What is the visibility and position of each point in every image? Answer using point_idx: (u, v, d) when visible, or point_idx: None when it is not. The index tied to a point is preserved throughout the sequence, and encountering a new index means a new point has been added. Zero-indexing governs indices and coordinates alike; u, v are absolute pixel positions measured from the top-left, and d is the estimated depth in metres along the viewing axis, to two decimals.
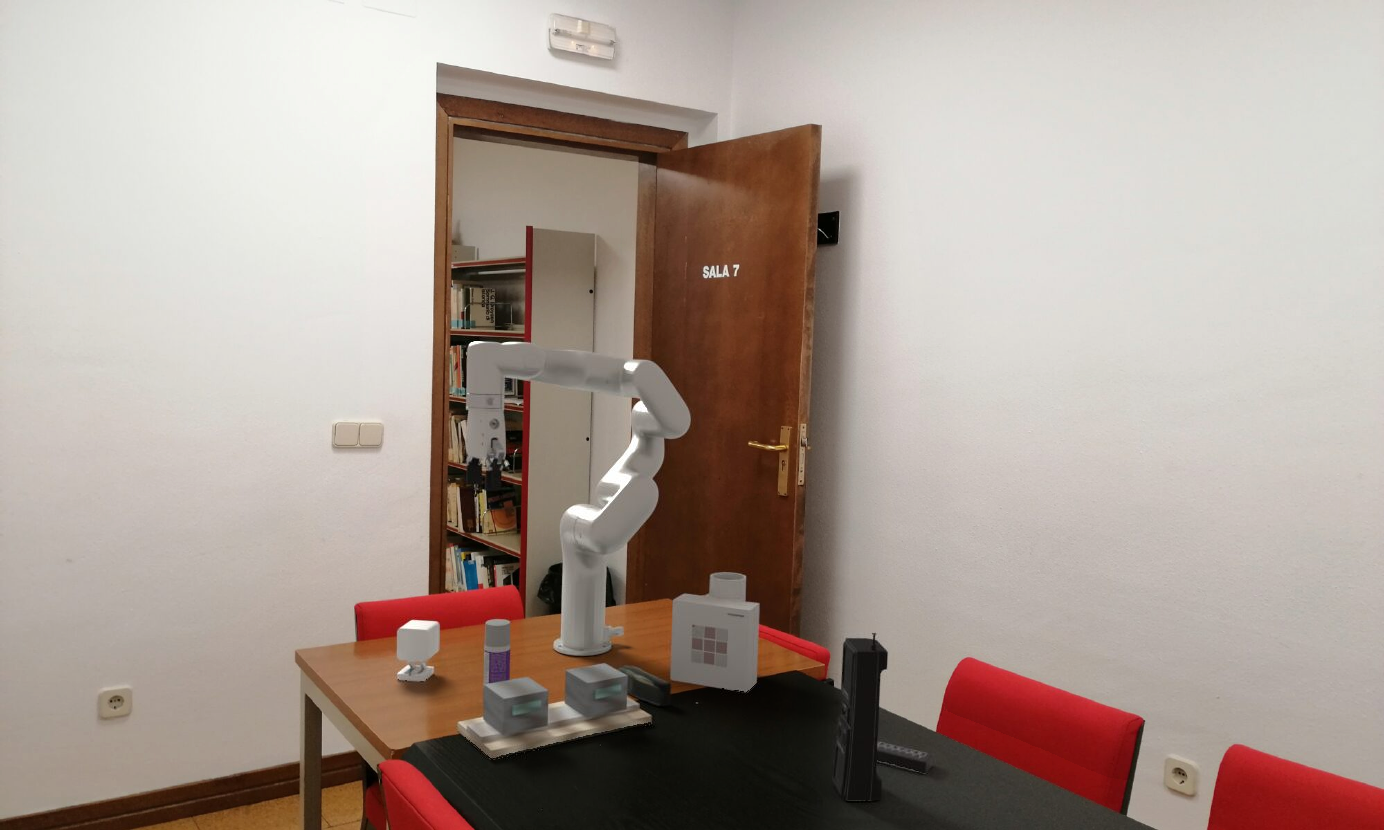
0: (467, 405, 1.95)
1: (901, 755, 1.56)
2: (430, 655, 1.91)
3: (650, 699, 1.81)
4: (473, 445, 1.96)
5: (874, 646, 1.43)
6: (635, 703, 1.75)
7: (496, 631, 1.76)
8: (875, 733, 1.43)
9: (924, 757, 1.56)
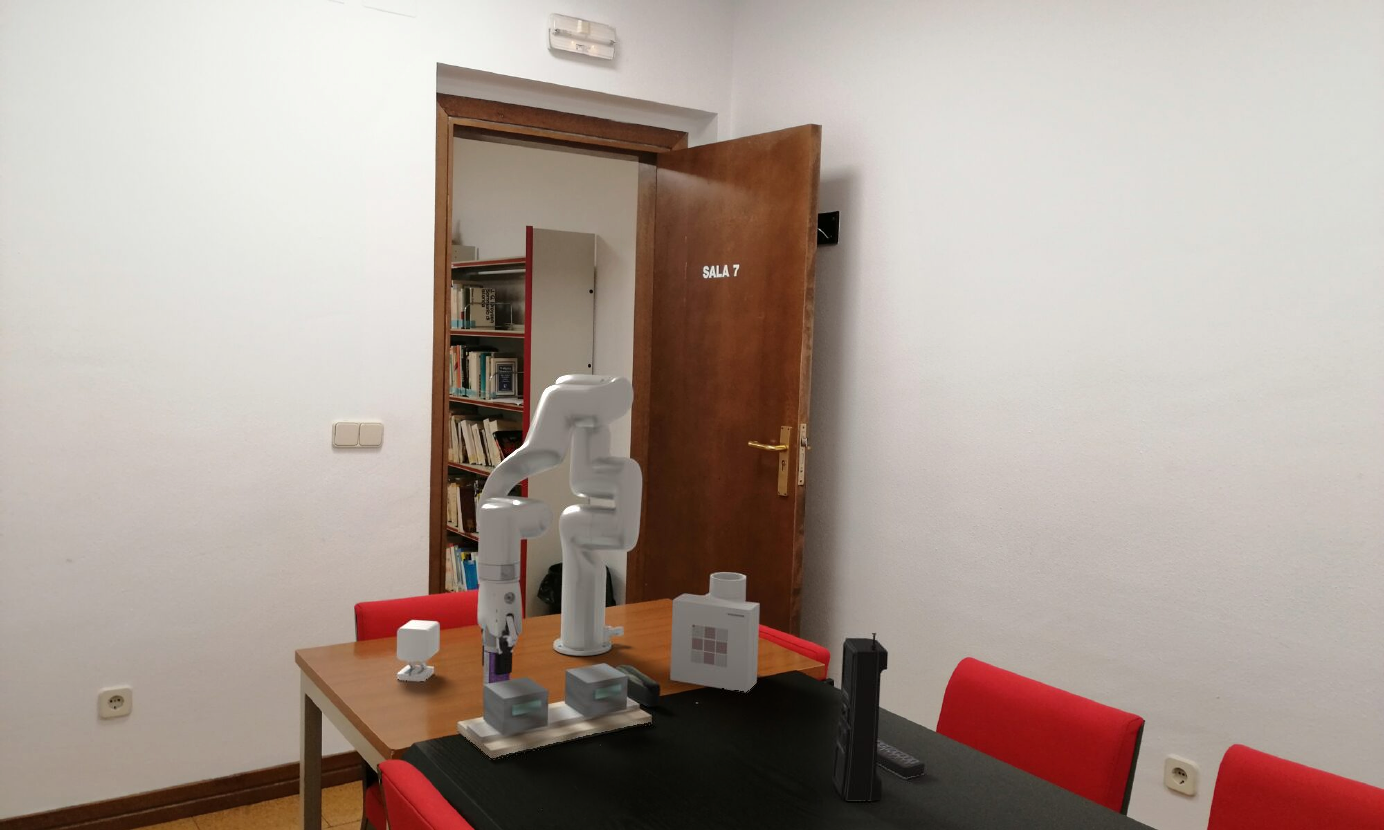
0: (479, 575, 1.76)
1: (890, 757, 1.55)
2: (430, 655, 1.91)
3: (640, 700, 1.81)
4: (486, 619, 1.77)
5: (874, 646, 1.43)
6: (635, 703, 1.75)
7: None
8: (875, 733, 1.43)
9: (911, 763, 1.53)
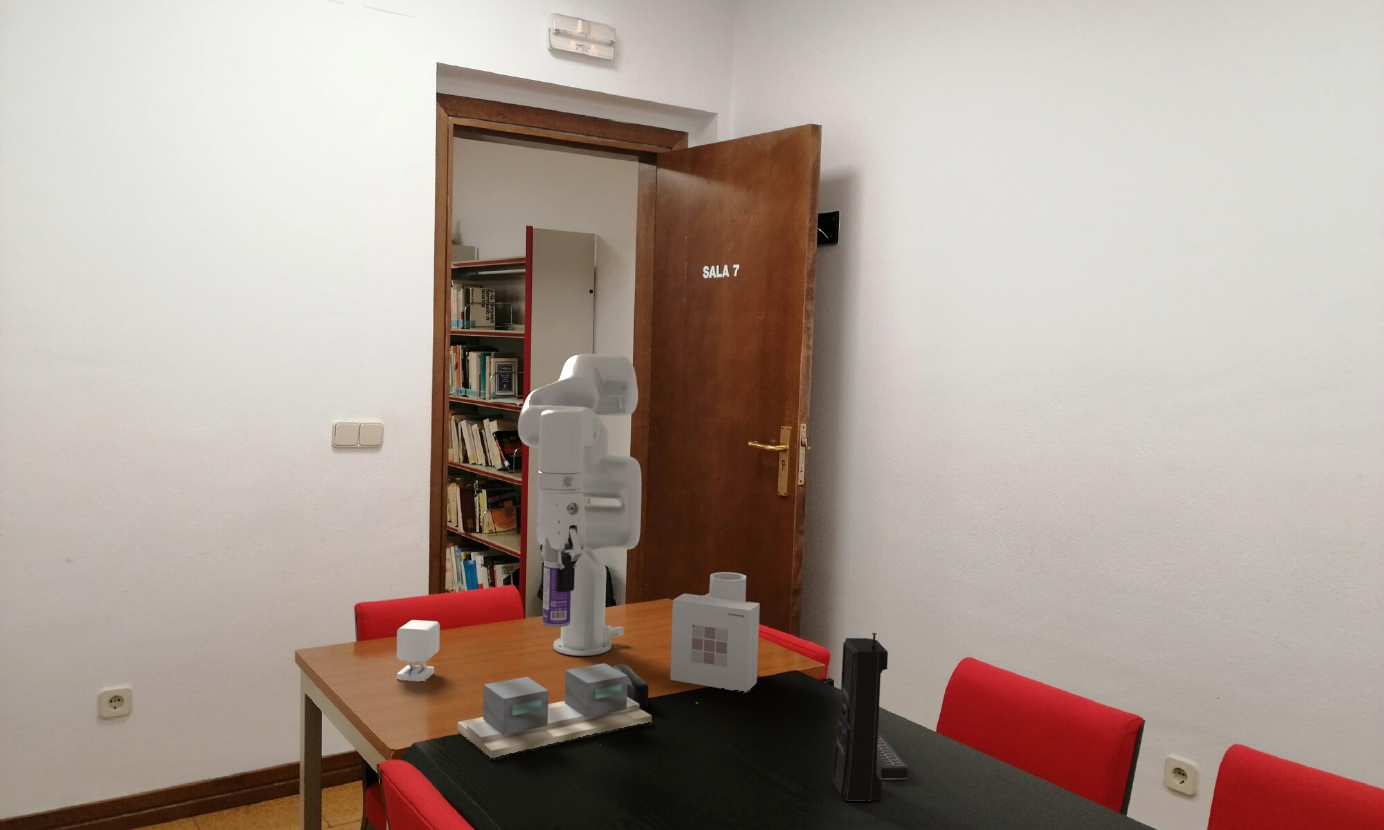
0: (540, 485, 1.64)
1: (877, 757, 1.55)
2: (430, 655, 1.91)
3: None
4: (546, 532, 1.65)
5: (874, 646, 1.43)
6: (635, 703, 1.75)
7: None
8: (875, 733, 1.43)
9: (892, 766, 1.52)
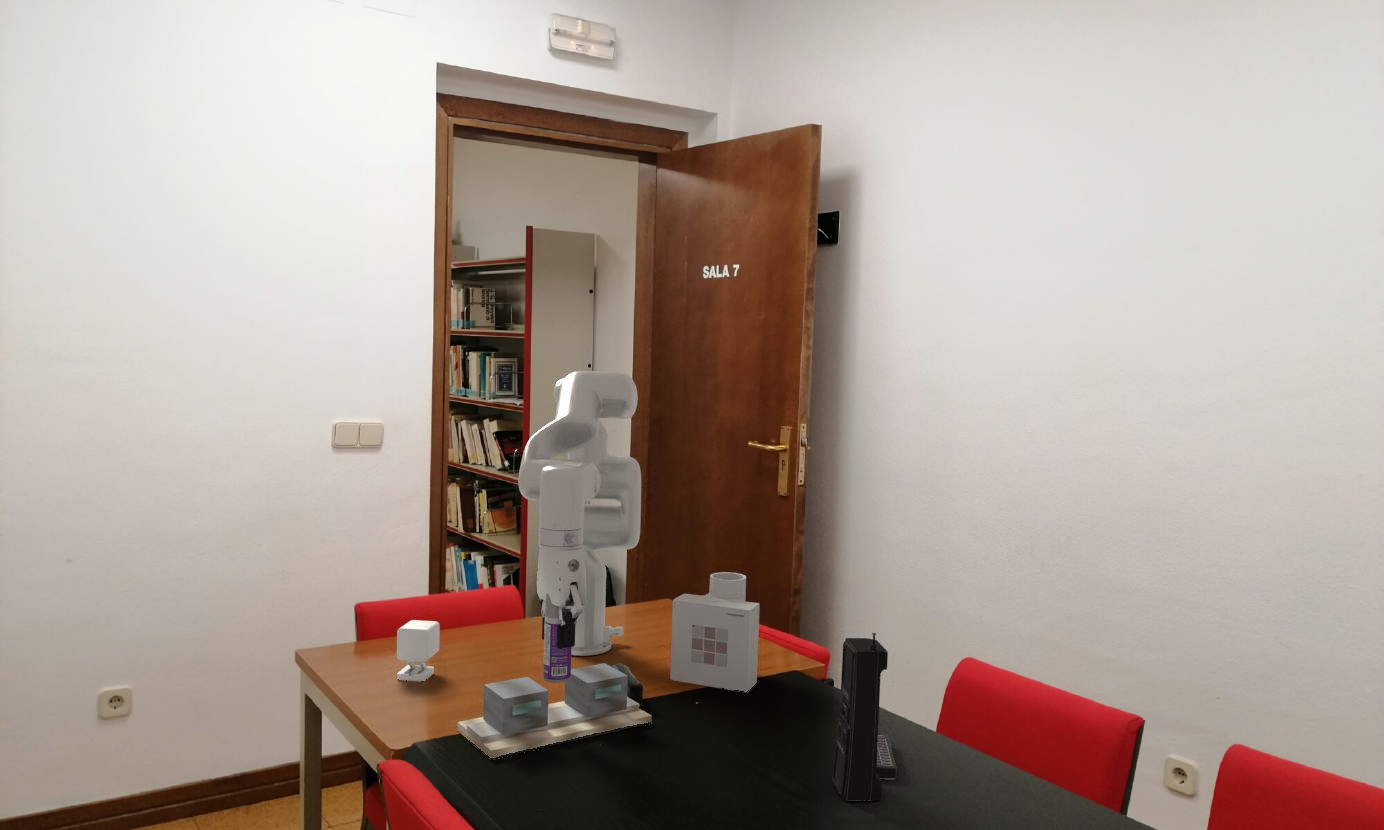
0: (540, 542, 1.65)
1: None
2: (430, 655, 1.91)
3: None
4: (547, 588, 1.66)
5: (874, 646, 1.43)
6: (635, 703, 1.75)
7: None
8: (875, 733, 1.43)
9: (880, 765, 1.52)
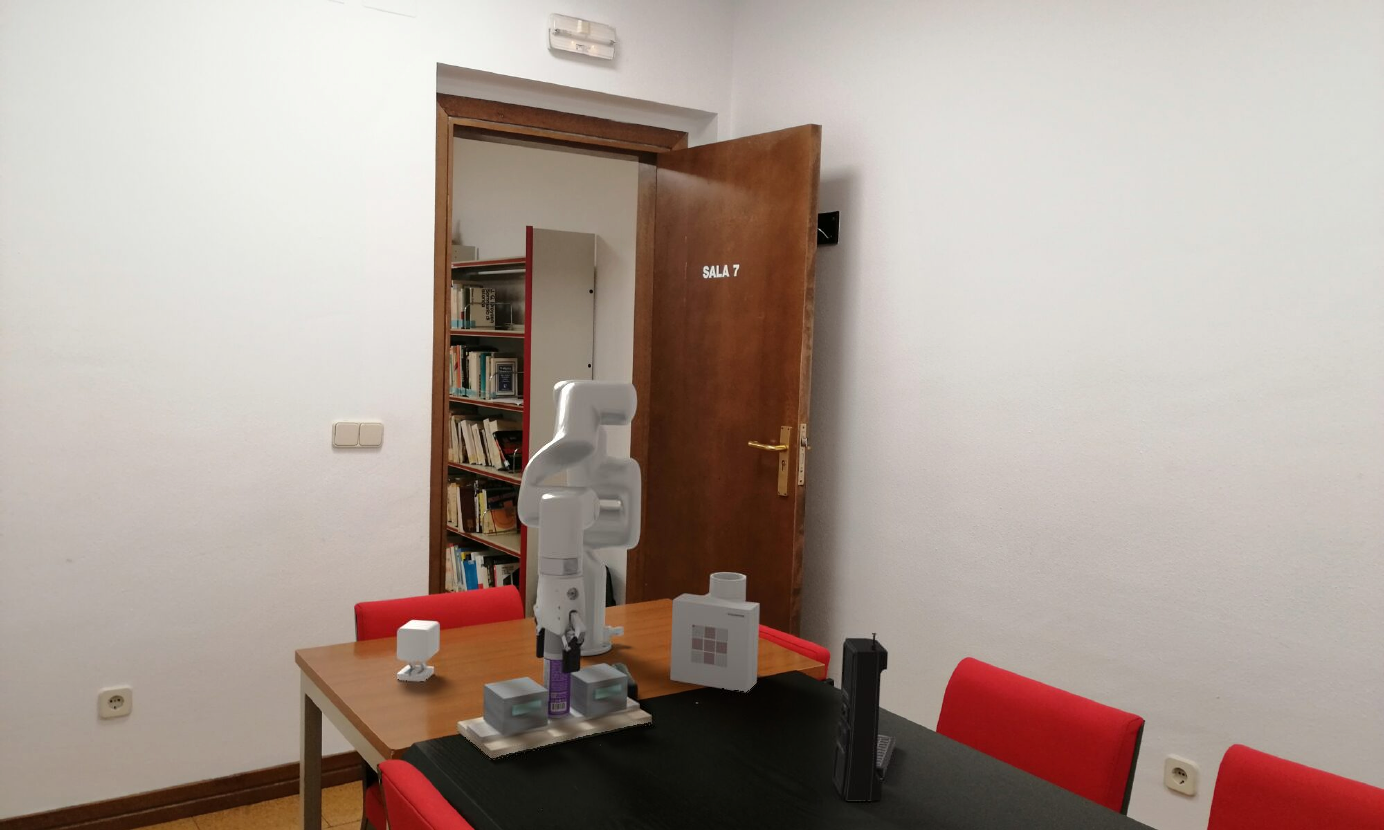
0: (540, 570, 1.65)
1: None
2: (430, 655, 1.91)
3: None
4: (546, 616, 1.66)
5: (874, 646, 1.43)
6: (635, 703, 1.75)
7: (557, 637, 1.66)
8: (875, 733, 1.43)
9: None
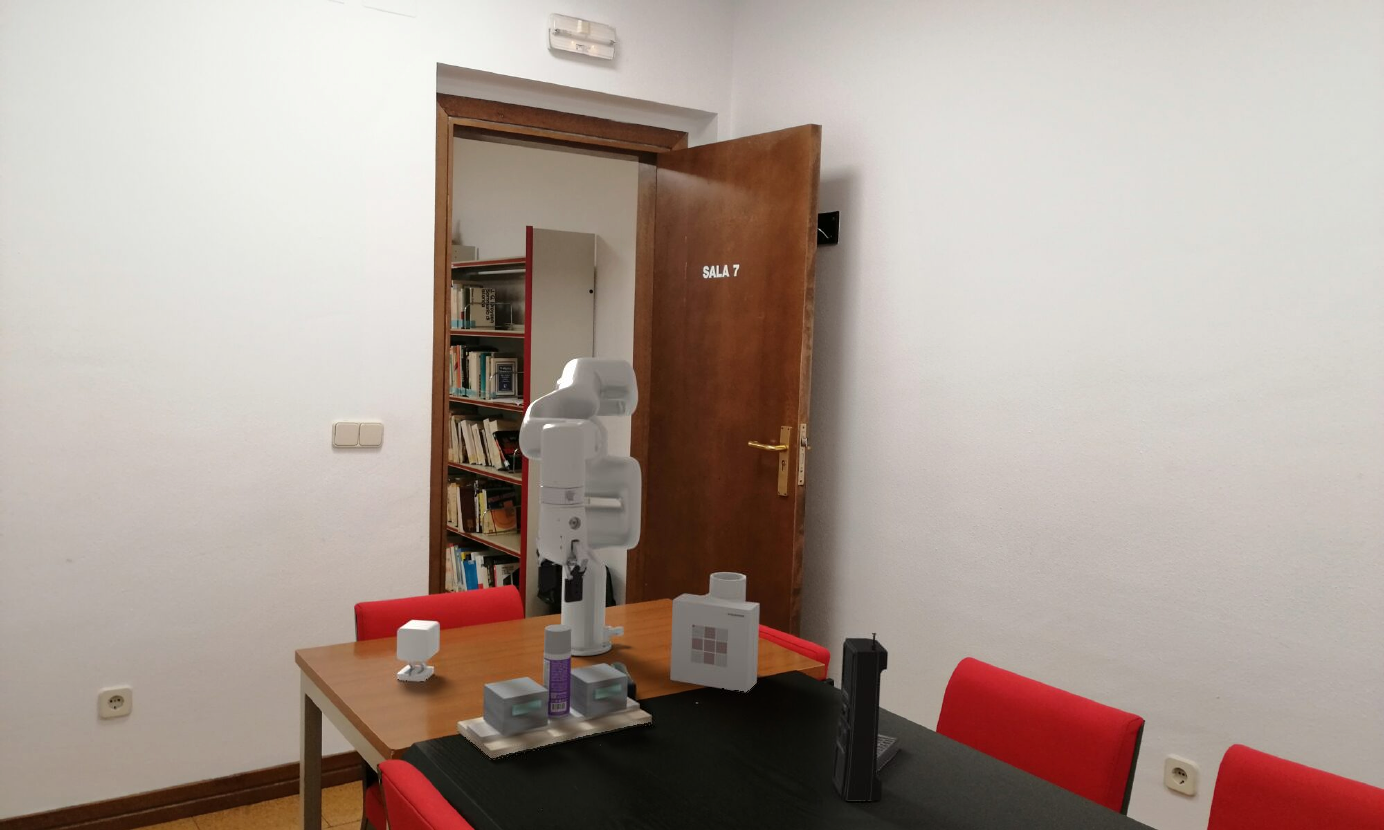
0: (541, 500, 1.64)
1: None
2: (430, 655, 1.91)
3: None
4: (548, 546, 1.65)
5: (874, 646, 1.43)
6: (635, 703, 1.75)
7: (557, 637, 1.65)
8: (875, 733, 1.43)
9: None
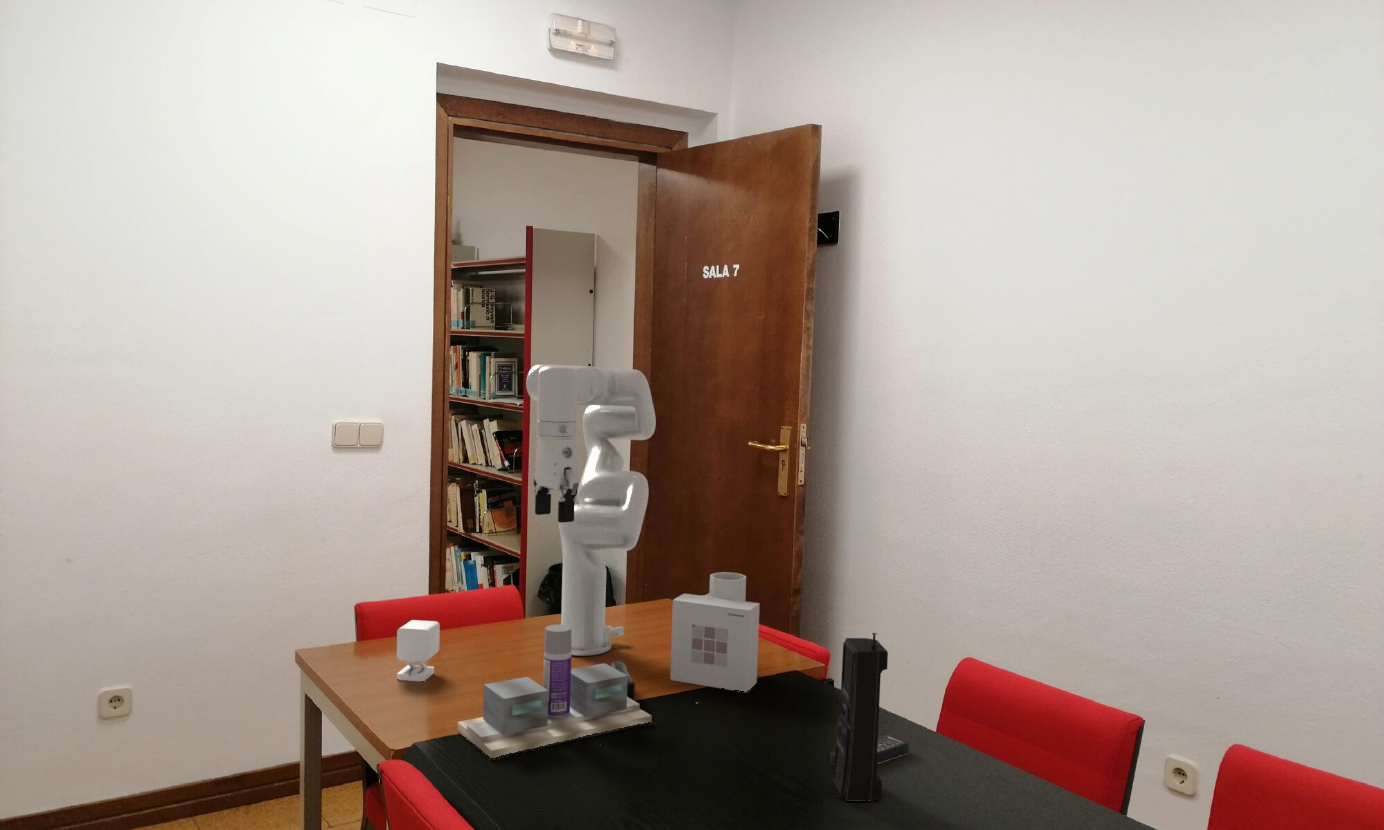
0: (538, 433, 1.87)
1: None
2: (430, 655, 1.91)
3: None
4: (544, 474, 1.88)
5: (874, 646, 1.43)
6: (635, 703, 1.75)
7: (557, 637, 1.65)
8: (875, 733, 1.43)
9: None
